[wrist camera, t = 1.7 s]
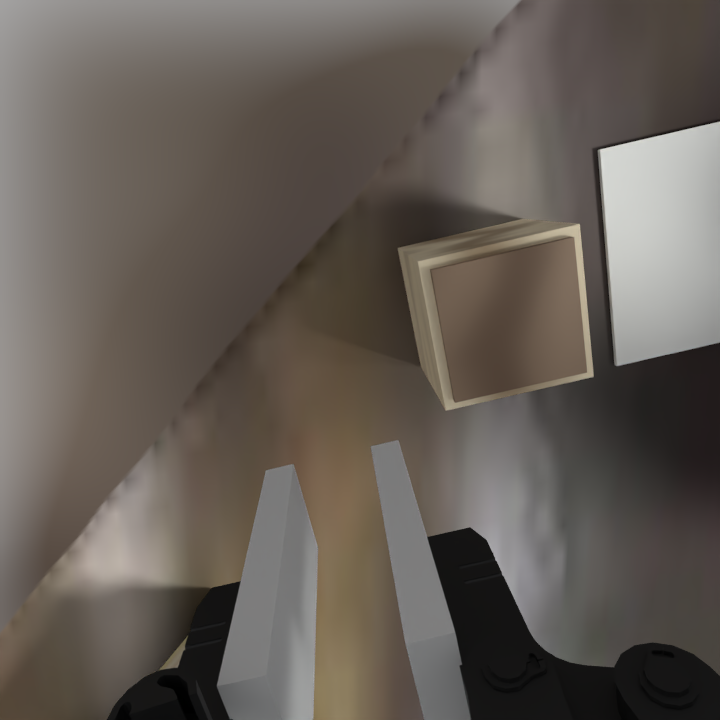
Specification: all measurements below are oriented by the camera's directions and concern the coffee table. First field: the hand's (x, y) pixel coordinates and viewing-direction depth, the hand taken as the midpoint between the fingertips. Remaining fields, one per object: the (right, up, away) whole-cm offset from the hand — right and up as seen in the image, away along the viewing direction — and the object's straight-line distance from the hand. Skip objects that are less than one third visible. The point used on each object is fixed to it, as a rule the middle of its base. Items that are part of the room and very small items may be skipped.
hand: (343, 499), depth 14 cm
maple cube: (+8, +8, +20) cm, 22 cm away
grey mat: (+23, +12, +19) cm, 32 cm away
